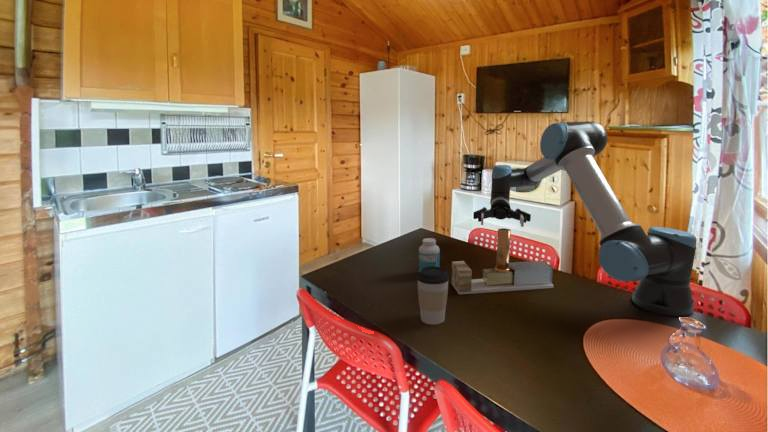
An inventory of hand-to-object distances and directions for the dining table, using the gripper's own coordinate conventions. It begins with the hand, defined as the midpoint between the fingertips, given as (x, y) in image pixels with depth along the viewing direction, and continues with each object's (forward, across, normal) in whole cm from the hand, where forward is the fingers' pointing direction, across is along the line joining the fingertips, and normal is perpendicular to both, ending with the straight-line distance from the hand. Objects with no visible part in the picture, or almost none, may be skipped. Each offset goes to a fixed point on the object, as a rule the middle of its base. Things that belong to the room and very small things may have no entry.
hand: (502, 222), depth 143 cm
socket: (+15, +13, -19) cm, 28 cm away
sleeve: (+7, -9, -19) cm, 23 cm away
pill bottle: (+6, +25, -20) cm, 32 cm away
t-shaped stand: (+9, -4, -18) cm, 20 cm away
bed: (+10, 0, -19) cm, 22 cm away
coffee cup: (+38, +19, -19) cm, 47 cm away
